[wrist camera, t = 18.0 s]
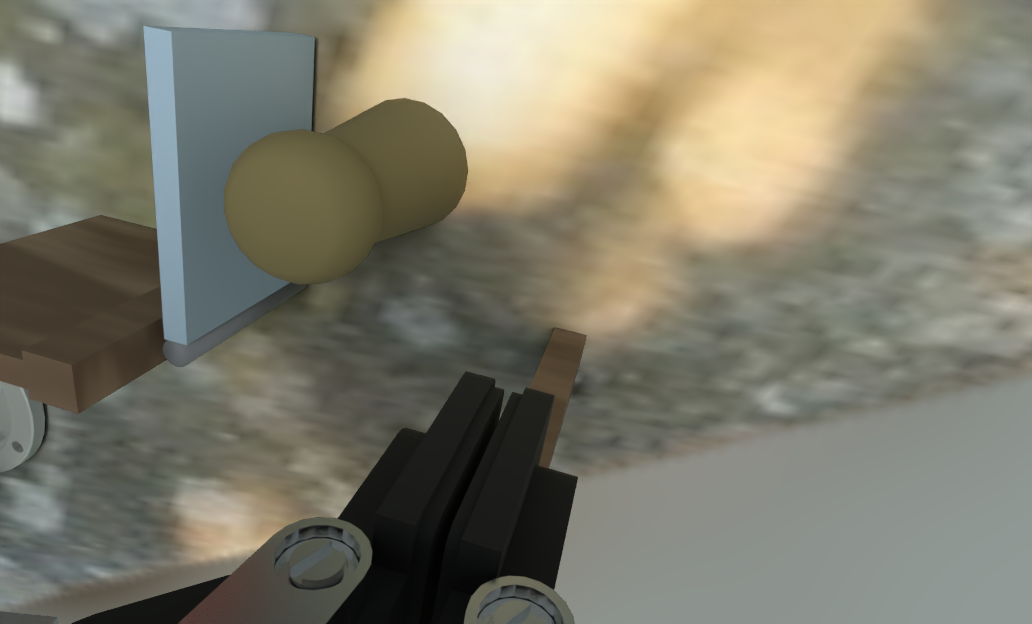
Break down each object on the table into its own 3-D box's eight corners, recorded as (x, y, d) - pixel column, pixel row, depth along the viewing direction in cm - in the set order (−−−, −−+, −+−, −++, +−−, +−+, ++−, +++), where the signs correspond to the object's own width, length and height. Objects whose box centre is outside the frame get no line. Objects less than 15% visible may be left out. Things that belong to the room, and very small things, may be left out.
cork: (335, 199, 31) (180, 266, 22) (364, 77, 29) (203, 90, 19) (445, 247, 31) (340, 338, 21) (485, 128, 29) (386, 168, 19)
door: (317, 37, 28) (174, 32, 20) (307, 292, 33) (190, 370, 25) (292, 32, 28) (140, 25, 20) (286, 287, 34) (163, 362, 25)
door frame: (578, 367, 32) (525, 550, 20) (103, 242, 36) (-176, 336, 24) (587, 331, 31) (536, 501, 19) (100, 208, 35) (-191, 288, 23)
